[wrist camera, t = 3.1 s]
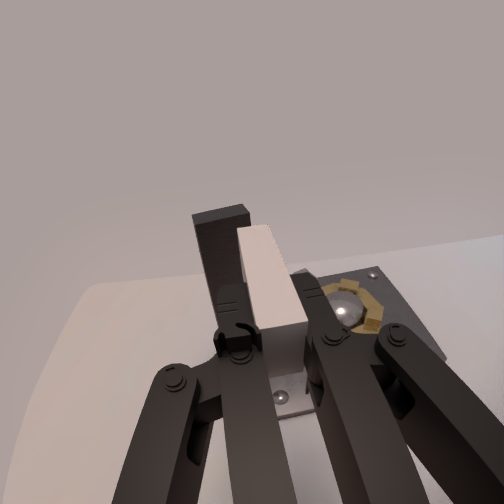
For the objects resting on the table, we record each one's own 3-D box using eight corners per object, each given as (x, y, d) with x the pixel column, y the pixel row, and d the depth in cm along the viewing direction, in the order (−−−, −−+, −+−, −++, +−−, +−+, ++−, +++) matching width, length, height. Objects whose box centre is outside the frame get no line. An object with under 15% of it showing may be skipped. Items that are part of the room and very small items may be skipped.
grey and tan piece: (350, 288, 36) (362, 169, 28) (393, 335, 28) (430, 200, 19) (218, 330, 32) (187, 198, 24) (240, 397, 24) (202, 252, 15)
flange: (371, 265, 43) (375, 242, 40) (443, 363, 24) (458, 339, 22) (241, 288, 41) (237, 263, 39) (264, 422, 23) (261, 403, 20)
